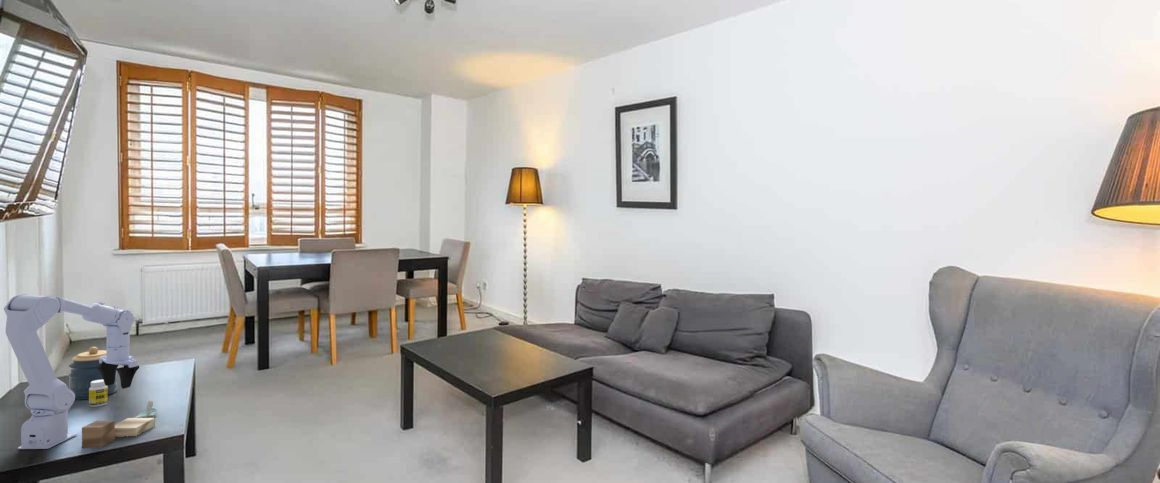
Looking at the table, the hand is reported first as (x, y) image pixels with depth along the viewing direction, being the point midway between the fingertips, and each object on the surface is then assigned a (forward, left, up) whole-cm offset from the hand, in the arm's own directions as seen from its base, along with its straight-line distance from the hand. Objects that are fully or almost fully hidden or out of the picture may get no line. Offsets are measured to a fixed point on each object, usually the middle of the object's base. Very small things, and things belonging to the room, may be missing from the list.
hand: (117, 386), depth 169 cm
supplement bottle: (+11, +14, -10) cm, 20 cm away
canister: (+22, +24, -10) cm, 34 cm away
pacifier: (-2, -10, -10) cm, 15 cm away
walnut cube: (-21, -11, -10) cm, 26 cm away
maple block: (-12, -13, -11) cm, 21 cm away
